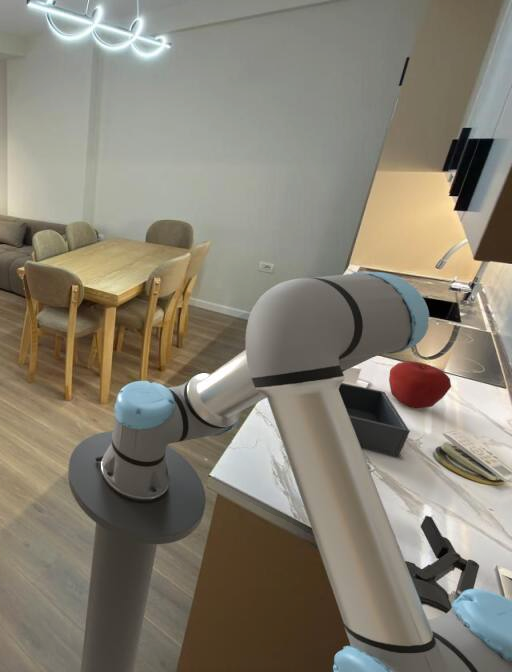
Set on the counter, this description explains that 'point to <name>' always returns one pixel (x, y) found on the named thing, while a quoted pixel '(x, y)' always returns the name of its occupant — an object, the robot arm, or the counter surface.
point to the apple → (418, 384)
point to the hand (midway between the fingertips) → (375, 506)
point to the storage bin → (374, 419)
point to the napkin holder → (353, 377)
